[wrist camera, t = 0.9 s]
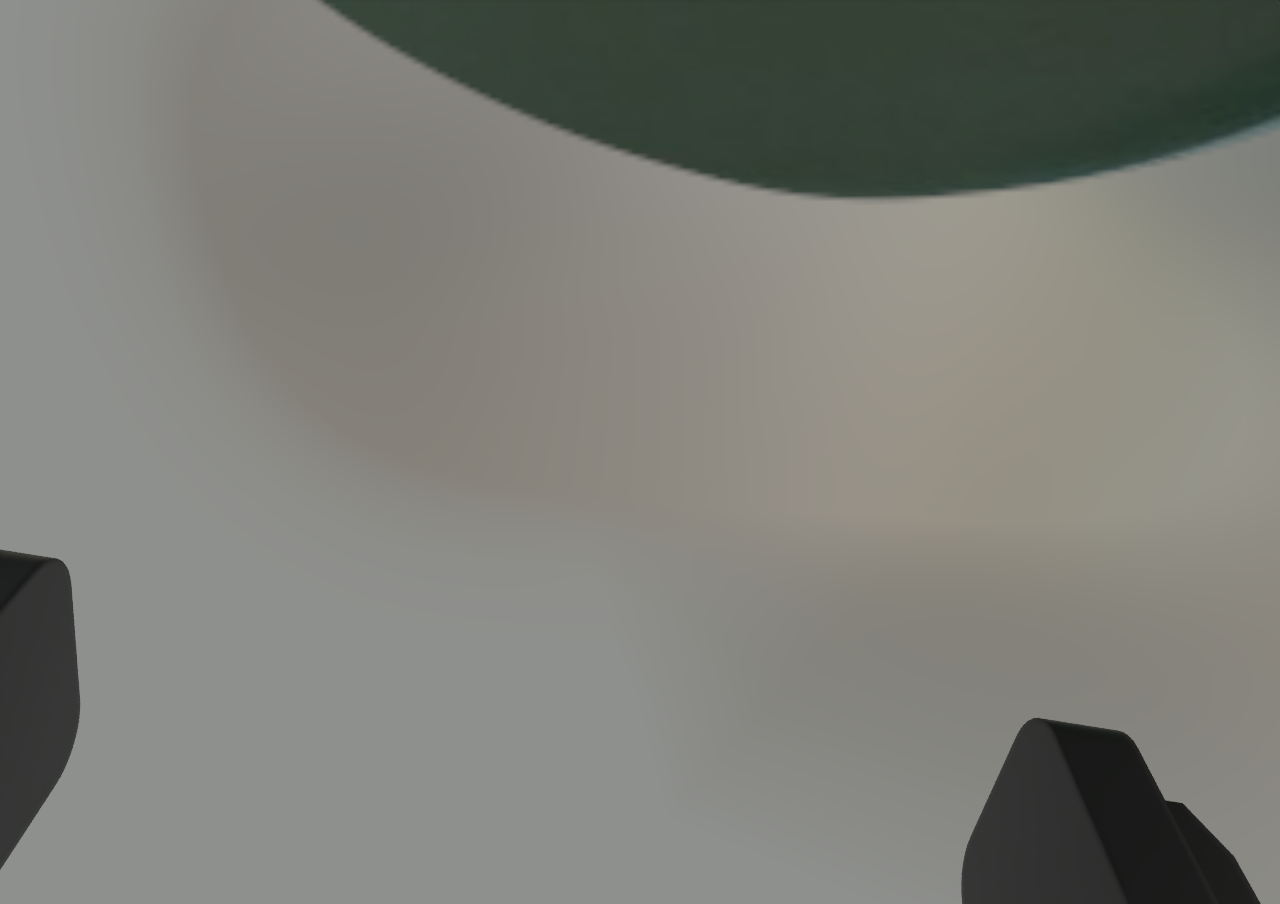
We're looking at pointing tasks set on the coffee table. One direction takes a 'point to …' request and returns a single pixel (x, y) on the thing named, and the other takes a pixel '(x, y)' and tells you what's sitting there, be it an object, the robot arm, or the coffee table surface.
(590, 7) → the coffee table surface
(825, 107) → the coffee table surface
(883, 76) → the coffee table surface
